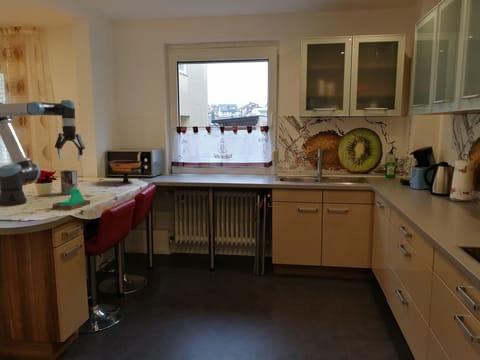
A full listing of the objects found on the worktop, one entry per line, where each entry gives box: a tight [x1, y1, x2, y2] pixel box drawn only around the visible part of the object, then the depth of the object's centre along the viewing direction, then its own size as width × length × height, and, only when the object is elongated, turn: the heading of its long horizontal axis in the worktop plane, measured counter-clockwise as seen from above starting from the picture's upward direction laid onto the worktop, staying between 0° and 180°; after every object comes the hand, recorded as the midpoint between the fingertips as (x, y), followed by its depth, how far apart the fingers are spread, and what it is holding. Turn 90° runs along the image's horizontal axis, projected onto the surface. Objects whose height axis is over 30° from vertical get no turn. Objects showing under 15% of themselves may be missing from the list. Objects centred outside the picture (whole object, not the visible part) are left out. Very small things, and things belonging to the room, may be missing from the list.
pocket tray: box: [52, 199, 91, 211], centre depth 225 cm, size 13×17×2 cm
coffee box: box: [59, 169, 79, 195], centre depth 261 cm, size 9×6×16 cm
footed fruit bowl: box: [106, 159, 145, 185], centre depth 310 cm, size 36×26×18 cm
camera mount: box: [59, 188, 85, 205], centre depth 225 cm, size 12×8×10 cm, turn 166°
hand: (70, 160), depth 233 cm, fingers open, 13 cm apart
